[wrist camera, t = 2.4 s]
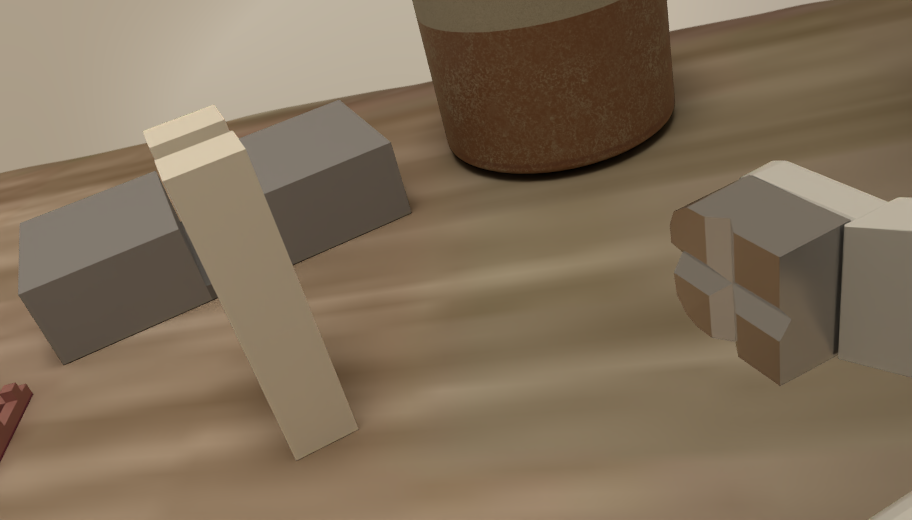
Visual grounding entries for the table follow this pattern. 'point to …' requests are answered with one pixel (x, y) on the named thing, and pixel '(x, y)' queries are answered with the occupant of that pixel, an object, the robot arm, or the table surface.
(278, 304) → the notched plate
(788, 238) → the robot arm
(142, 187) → the slotted board
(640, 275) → the table surface
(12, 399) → the chocolate bar
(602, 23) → the planter
